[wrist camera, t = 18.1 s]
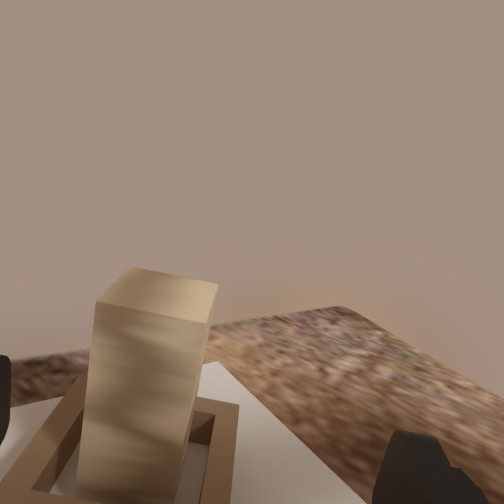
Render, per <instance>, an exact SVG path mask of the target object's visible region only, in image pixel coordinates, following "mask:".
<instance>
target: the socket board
mask: <svg viewBox="0 0 504 504" xmlns="http://www.w3.org/2000/svg"><path fill="white" fill-rule="evenodd" d="M87 379H88V375H85V374H80V375H79V376H78V378H77V379H76V380H75V382H74V383H73V384H72V386H71V387H70V388H69V390H68V391H67V392H66V394H65V395H64V396H61V397H57V398H53V399H48V400H44V401H39V402H35V403H30V404H26V405H22V406H17V407H13V408H10V422H9V426H8V430H7V433H6V435H5V438H4V440H3V442H2V444H1V446H0V504H104V503H99V502H93V501H88V500H83V499H77V498H74V497H75V488H76V479H77V469H78V460H79V451H80V442H81V433H82V424H83V415H84V406H85V397H86V388H87ZM173 504H366V503H365V502H364V501H363V500H362V499H361V498H360V497H359V496H358V495H357V494H356V493H355V492H354V491H353V490H352V489H351V488H350V487H349V486H348V485H347V484H345V483H344V482H343V481H342V480H341V479H340V478H339V477H338V476H337V475H336V474H335V473H334V472H333V471H332V470H331V469H330V468H329V467H328V466H327V465H326V464H324V463H323V462H322V461H321V460H320V459H319V458H318V457H317V456H316V455H315V454H314V453H313V452H312V451H311V450H310V449H309V448H308V447H307V446H306V445H305V444H304V443H302V442H301V441H300V440H299V439H298V438H297V437H296V436H295V435H294V434H293V433H292V432H291V431H290V430H289V429H288V428H287V427H286V426H285V425H284V424H283V423H282V422H280V421H279V420H278V419H277V418H276V417H275V416H274V415H273V414H272V413H271V412H270V411H269V410H268V409H267V408H266V407H265V406H264V405H263V404H262V403H261V402H260V401H258V400H257V399H256V398H255V397H254V396H253V395H252V394H251V393H250V392H249V391H248V390H247V389H246V388H245V387H244V386H243V385H242V384H241V383H240V382H239V381H238V380H236V379H235V378H234V377H233V376H232V375H231V374H230V373H229V372H228V371H227V370H226V369H225V368H224V367H223V366H222V365H221V364H220V363H219V362H218V361H217V362H212V363H208V364H203V366H202V372H201V377H200V382H199V387H198V392H197V397H196V402H195V408H194V413H193V418H192V423H191V428H190V433H189V438H188V444H187V449H186V454H185V459H184V463H183V467H182V471H181V475H180V479H179V483H178V486H177V490H176V494H175V498H174V502H173Z"/></svg>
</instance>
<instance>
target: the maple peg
mask: <svg viewBox="0 0 504 504" xmlns="http://www.w3.org/2000/svg"><path fill="white" fill-rule="evenodd" d="M217 289H218V284H214V283H209V282H205V281H200V280H194V279H189V278H185V277H180V276H175V275H170V274H165V273H160V272H155V271H150V270H146V269H141V268H136V267H131V266H130V267H129V268H128V269H127V270H126V271H125V272H124V273H123V274H122V275H121V276H120V277H119V278H118V279H117V280H116V281H115V282H114V283H113V284H112V285H111V286H110V287H109V289H108V290H106V292H105V293H104V294H103V295H102V296H101V297H100V298H99V299H98V300H97V301H96V306H95V315H94V325H93V334H92V343H91V352H90V361H89V370H88V379H87V388H86V397H85V406H84V415H83V424H82V433H81V442H80V451H79V460H78V469H77V479H76V488H75V497H74V498H77V499H83V500H88V501H93V502H99V503H104V504H173V502H174V498H175V494H176V490H177V486H178V483H179V479H180V475H181V471H182V467H183V463H184V459H185V454H186V449H187V444H188V438H189V433H190V428H191V423H192V418H193V413H194V408H195V402H196V397H197V392H198V387H199V382H200V377H201V372H202V366H203V361H204V356H205V351H206V346H207V341H208V336H209V330H210V325H211V320H212V314H213V310H214V305H215V300H216V294H217Z"/></svg>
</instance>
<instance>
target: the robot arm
mask: <svg viewBox="0 0 504 504" xmlns="http://www.w3.org/2000/svg"><path fill="white" fill-rule="evenodd" d="M10 393H11V362H10V359H9V358H8V357H7V356H4V355H0V446H1V444H2V442H3V440H4V438H5V435H6V433H7V430H8V426H9V422H10ZM372 504H489V503H488V501H487V499H486V497H485V496H484V494H483V492H482V491H481V490H480V489H479V488H478V487H477V486H476V485H475V484H474V482H473V481H472V480H471V479H470V478H469V477H468V476H467V475H466V474H465V473H464V472H463V471H462V470H461V469H460V468H454V467H451V465H450V463H449V461H448V459H447V457H446V455H445V453H444V451H443V449H442V447H441V445H440V443H439V442H438V440H437V439H436V438H435V437H432V436H427V435H422V434H416V433H411V432H405V431H400V430H396V431H395V432H394V433H393V435H392V437H391V439H390V442H389V445H388V448H387V451H386V454H385V457H384V460H383V463H382V466H381V468H380V471H379V474H378V477H377V480H376V483H375V486H374V490H373V496H372Z"/></svg>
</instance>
